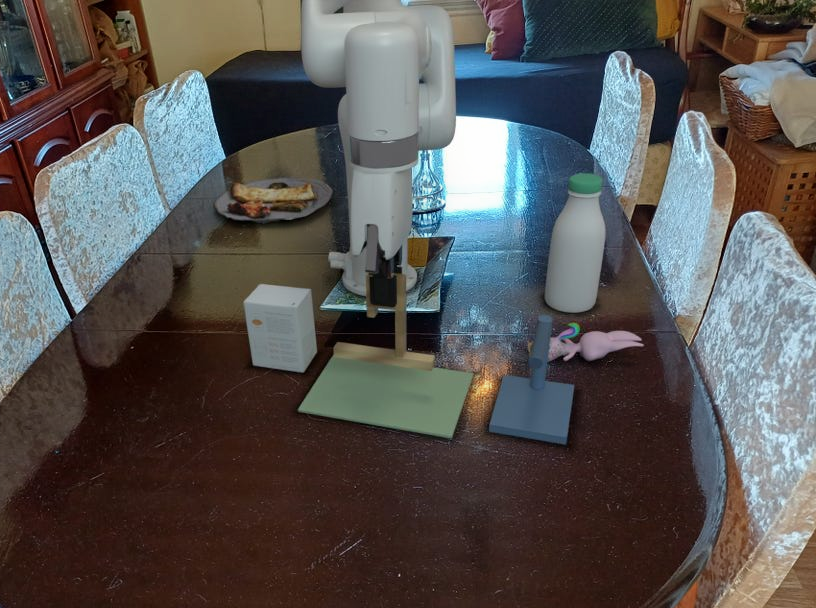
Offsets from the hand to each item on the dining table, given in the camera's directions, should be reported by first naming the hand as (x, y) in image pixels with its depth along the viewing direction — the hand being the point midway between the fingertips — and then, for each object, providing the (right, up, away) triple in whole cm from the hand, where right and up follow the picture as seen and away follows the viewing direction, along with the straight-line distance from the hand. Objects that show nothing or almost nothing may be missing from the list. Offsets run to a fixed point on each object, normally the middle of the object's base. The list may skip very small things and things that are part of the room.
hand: (386, 299), depth 88 cm
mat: (+1, -12, +8) cm, 14 cm away
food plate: (-19, +25, +67) cm, 74 cm away
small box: (-13, -7, +16) cm, 22 cm away
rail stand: (+18, -14, +3) cm, 23 cm away
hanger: (0, -7, +5) cm, 9 cm away
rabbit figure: (+28, -7, +12) cm, 31 cm away
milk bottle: (+30, +2, +26) cm, 40 cm away
